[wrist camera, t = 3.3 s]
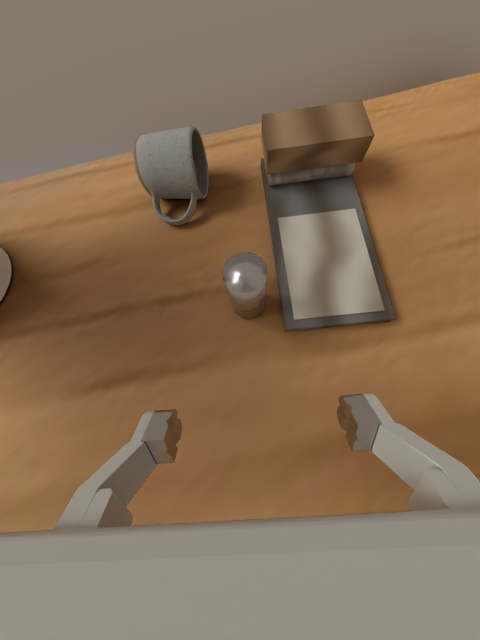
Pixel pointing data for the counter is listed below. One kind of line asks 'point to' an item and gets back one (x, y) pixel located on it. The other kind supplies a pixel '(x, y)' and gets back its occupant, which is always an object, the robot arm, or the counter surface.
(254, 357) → the counter surface
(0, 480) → the counter surface
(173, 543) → the robot arm
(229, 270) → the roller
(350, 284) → the grey board with block
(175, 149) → the ceramic mug
